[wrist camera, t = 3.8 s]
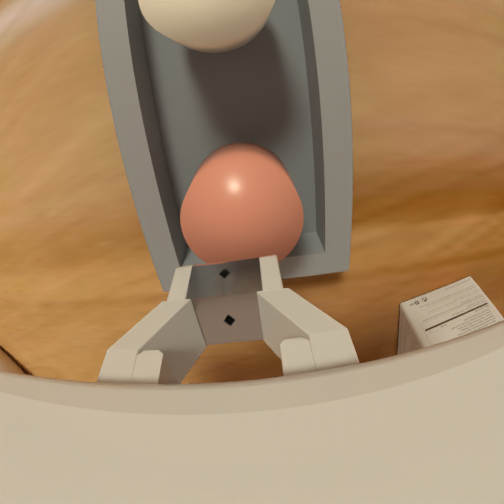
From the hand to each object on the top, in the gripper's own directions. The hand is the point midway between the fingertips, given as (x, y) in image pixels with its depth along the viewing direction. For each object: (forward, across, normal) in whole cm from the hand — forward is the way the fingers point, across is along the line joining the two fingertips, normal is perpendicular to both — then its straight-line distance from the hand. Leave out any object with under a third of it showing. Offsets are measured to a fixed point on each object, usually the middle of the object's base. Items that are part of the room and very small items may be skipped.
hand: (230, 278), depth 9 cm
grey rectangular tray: (+11, 0, +10) cm, 15 cm away
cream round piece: (+8, 0, +10) cm, 13 cm away
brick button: (+8, 0, 0) cm, 8 cm away
